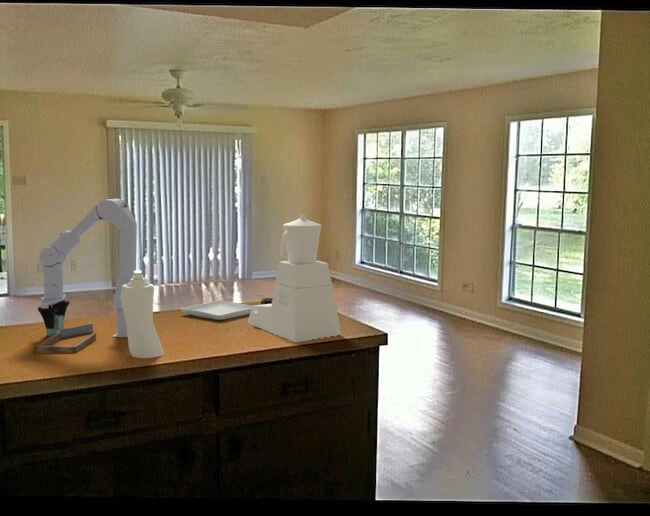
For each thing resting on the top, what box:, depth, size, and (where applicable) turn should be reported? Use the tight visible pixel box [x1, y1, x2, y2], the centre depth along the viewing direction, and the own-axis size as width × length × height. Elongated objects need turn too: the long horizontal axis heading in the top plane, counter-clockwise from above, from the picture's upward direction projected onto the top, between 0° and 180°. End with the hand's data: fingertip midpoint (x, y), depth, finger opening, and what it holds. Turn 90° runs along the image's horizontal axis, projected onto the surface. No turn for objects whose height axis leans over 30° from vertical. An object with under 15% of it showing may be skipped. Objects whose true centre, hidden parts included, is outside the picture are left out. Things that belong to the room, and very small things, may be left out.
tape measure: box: [260, 297, 273, 305], centre depth 249 cm, size 7×7×4 cm
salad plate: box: [180, 300, 253, 321], centre depth 238 cm, size 21×21×3 cm
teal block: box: [45, 315, 65, 336], centre depth 204 cm, size 4×4×6 cm
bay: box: [33, 332, 97, 354], centre depth 189 cm, size 12×16×2 cm
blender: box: [247, 214, 342, 343], centre depth 210 cm, size 33×18×40 cm, turn 33°
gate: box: [57, 322, 94, 340], centre depth 202 cm, size 12×1×3 cm, turn 145°
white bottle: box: [120, 269, 165, 359], centre depth 178 cm, size 12×11×25 cm
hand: (54, 325), depth 204 cm, fingers open, 7 cm apart
